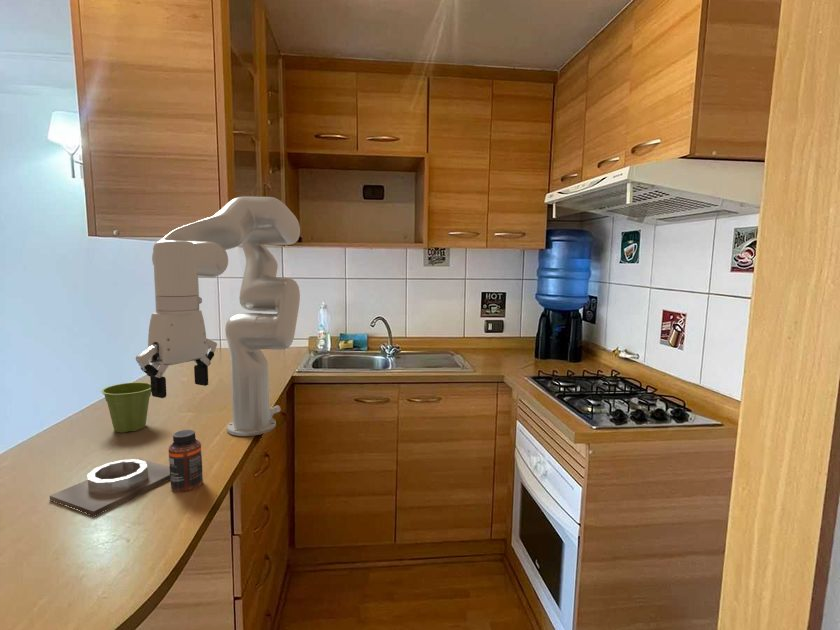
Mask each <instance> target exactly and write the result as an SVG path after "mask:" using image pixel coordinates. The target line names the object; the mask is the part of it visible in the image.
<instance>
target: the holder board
mask: <svg viewBox="0 0 840 630" xmlns="http://www.w3.org/2000/svg"><path fill="white" fill-rule="evenodd" d="M137 459H138V460H142V461H145V462H146V464H147V467H148V478H147V479H146V481H145V482H144V483H143V484H141V485H139V486H137V487H135V488H133V489H131V490H128V491H124V492H120V493H116V494H106V495H97V494H94V493H91V492H89V488H88V479H86V480H83V481H81V482H79V483H77V484H74V485H71V486H70V487H67V488H65V489H62V490H60V491H57V492H54V493H52V494H50V495H49V501H50V500H52V501H51V502H53V501H55V502H57V503H56V504H58V503H61V504H63V505H67V506H69V507H72V508H75V509H78V510H80V511H82V512H86V513H87V514H86V515H88V514H90V515H89V516H91V515H92V516H91V517H93V516H94V517H96V516H98V515H100V514H102V513H104V512H106V511H108V510H111V509H112V507H113V508H114V506H115V507H117V506H118V505H120V504H123V503H124V502H127V501H128V500H131V499H133V498H134V497H137V496H139V495H141V494H143V493H145V492H148V491H149V490H151V489H153V488H155V487H157V486H159V485H162V484H164V483H166V482H167V480H168V481H169V480H170V467H169V465H165V464H161V463H157V462H153V461H150V460H146V459H143V458H137ZM130 474H132V473H123V474H118V475H114V476H110V477H108V478H106V479H116V478H120V477H124V476H127V475H130ZM126 500H127V501H126ZM55 502H54V503H55ZM61 504H60V505H61ZM63 505H62V506H63ZM116 505H117V506H116ZM69 507H68V508H69ZM72 508H71V509H72ZM110 508H111V509H110ZM105 510H106V511H105ZM80 511H79V512H80ZM103 511H104V512H103ZM82 512H81V513H82ZM101 512H102V513H101ZM99 513H100V514H99ZM97 514H98V515H97ZM95 515H96V516H95Z"/></svg>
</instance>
